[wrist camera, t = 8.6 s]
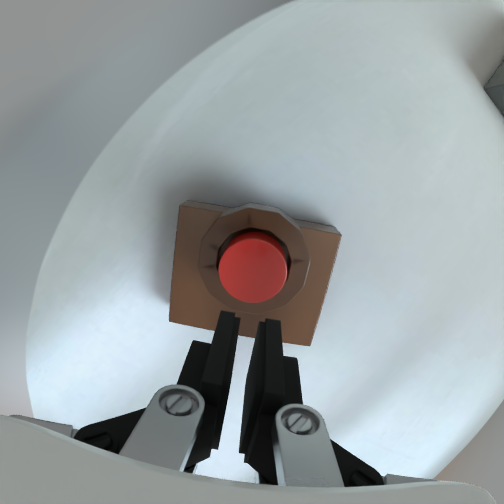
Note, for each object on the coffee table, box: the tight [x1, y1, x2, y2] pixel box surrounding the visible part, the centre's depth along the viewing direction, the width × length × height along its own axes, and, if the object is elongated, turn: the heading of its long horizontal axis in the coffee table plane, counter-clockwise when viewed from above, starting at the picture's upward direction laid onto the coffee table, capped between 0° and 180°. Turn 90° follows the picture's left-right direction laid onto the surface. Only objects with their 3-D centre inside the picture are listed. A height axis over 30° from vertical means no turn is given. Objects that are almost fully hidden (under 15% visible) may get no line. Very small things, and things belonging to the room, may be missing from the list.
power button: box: [218, 232, 287, 303], centre depth 20 cm, size 4×4×2 cm
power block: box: [169, 200, 342, 346], centre depth 22 cm, size 11×10×4 cm
